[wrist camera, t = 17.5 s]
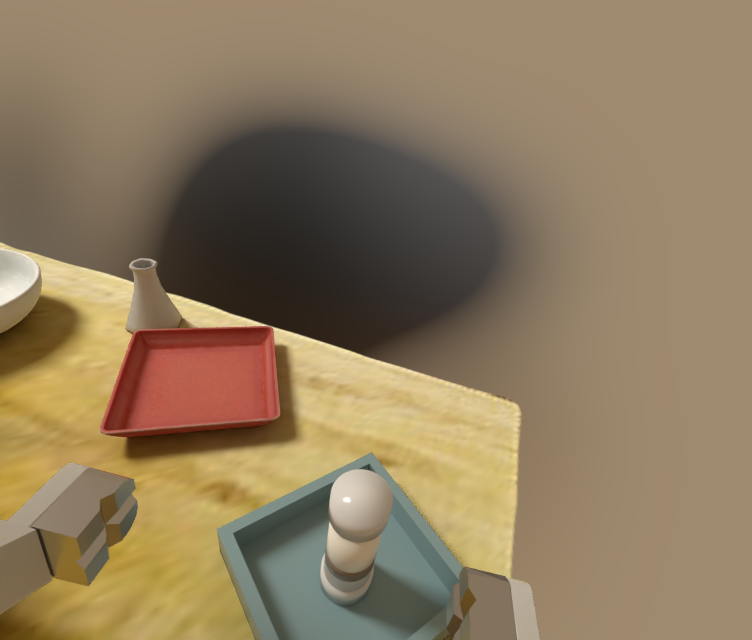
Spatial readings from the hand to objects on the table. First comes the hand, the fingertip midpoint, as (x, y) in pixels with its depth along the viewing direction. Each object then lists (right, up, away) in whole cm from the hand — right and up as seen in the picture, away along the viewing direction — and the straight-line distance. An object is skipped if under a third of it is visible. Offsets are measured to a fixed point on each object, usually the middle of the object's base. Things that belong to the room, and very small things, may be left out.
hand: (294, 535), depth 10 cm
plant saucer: (-20, -4, +44) cm, 49 cm away
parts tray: (-1, -18, +27) cm, 32 cm away
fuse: (-1, -17, +26) cm, 31 cm away
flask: (-31, +4, +53) cm, 61 cm away
